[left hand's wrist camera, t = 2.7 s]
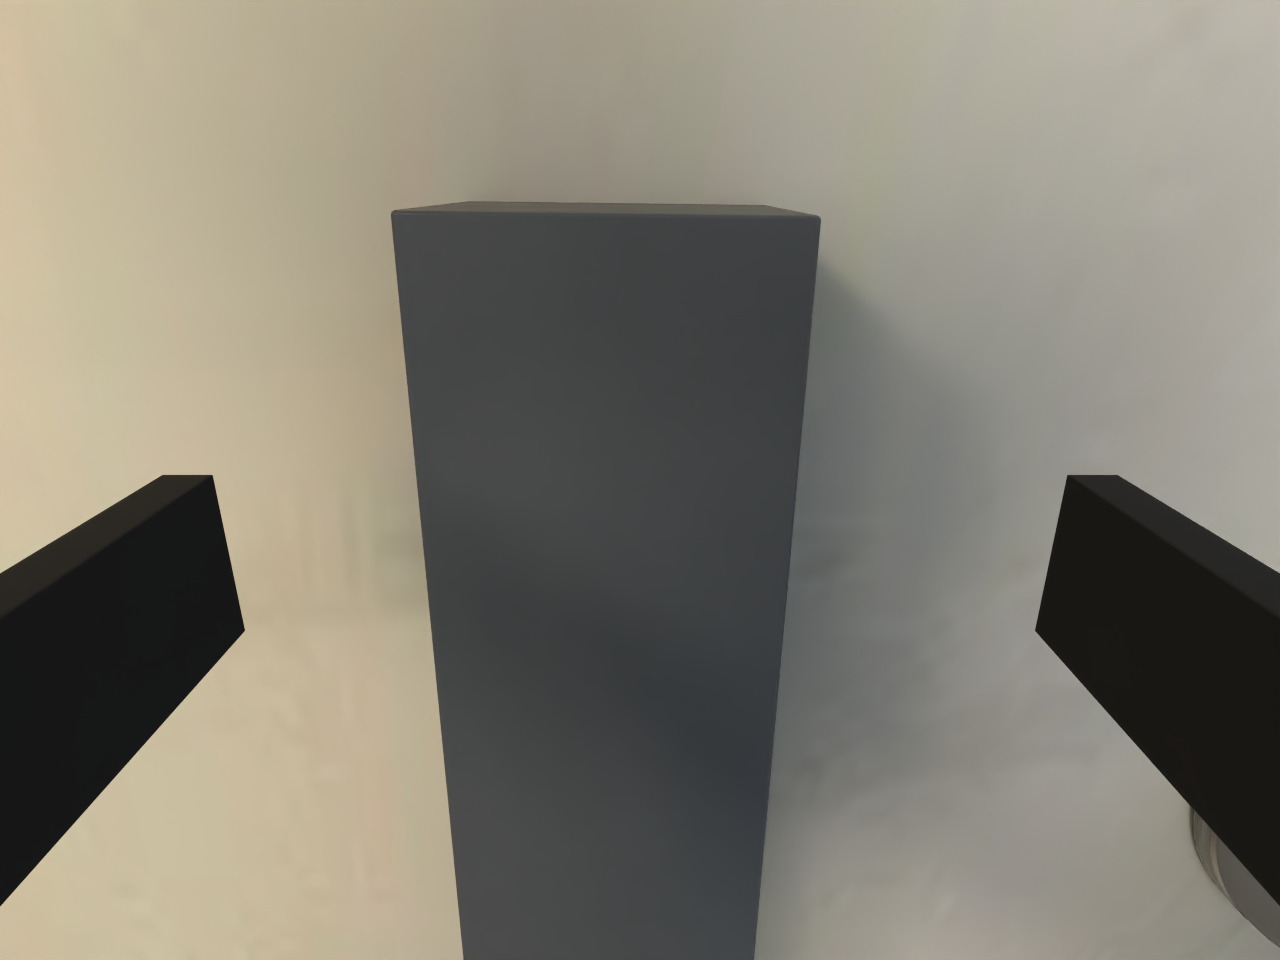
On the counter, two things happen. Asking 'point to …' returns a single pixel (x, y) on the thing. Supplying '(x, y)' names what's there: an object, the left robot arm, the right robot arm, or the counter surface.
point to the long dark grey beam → (607, 557)
